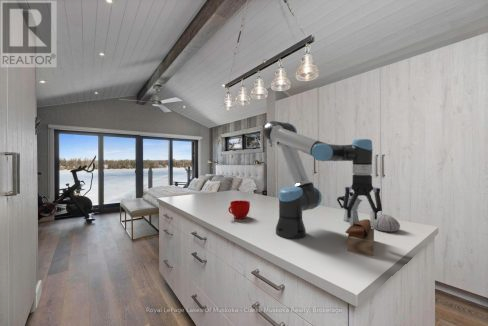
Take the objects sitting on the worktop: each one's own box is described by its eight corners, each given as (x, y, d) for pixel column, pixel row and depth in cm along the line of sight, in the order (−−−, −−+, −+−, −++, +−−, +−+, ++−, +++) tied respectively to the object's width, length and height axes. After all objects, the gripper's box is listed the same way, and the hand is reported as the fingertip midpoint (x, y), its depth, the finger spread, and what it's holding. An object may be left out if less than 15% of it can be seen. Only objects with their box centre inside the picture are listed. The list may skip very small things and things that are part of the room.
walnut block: (347, 251, 87) (347, 237, 87) (352, 237, 103) (352, 225, 103) (372, 256, 82) (372, 241, 82) (373, 241, 98) (374, 228, 98)
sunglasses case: (351, 223, 104) (360, 212, 102) (365, 233, 100) (374, 222, 98) (344, 232, 89) (353, 221, 87) (360, 244, 86) (370, 232, 84)
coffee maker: (364, 221, 129) (364, 192, 129) (360, 224, 123) (361, 194, 122) (338, 217, 139) (339, 190, 139) (334, 219, 132) (334, 191, 132)
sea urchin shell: (368, 229, 114) (368, 215, 114) (372, 224, 124) (373, 210, 124) (398, 235, 105) (399, 219, 105) (400, 229, 115) (400, 214, 115)
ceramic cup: (221, 218, 134) (221, 203, 134) (239, 213, 147) (239, 199, 147) (236, 222, 125) (236, 206, 125) (253, 217, 138) (253, 202, 138)
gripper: (338, 174, 91) (338, 226, 91) (392, 175, 86) (391, 230, 86) (335, 173, 98) (335, 221, 99) (385, 174, 93) (384, 225, 94)
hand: (361, 225), depth 92 cm, fingers closed on sunglasses case, 8 cm apart
